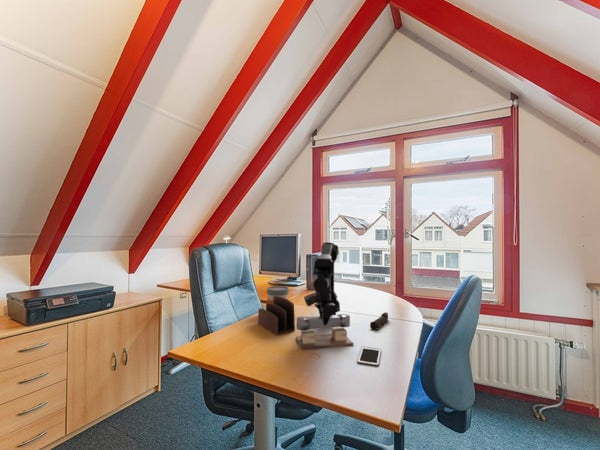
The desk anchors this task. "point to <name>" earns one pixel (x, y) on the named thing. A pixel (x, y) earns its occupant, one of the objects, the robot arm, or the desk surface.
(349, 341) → the tool rack
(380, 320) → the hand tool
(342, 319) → the grey long block
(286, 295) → the reusable coffee cup
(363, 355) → the cell phone
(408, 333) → the desk surface
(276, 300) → the letter holder
